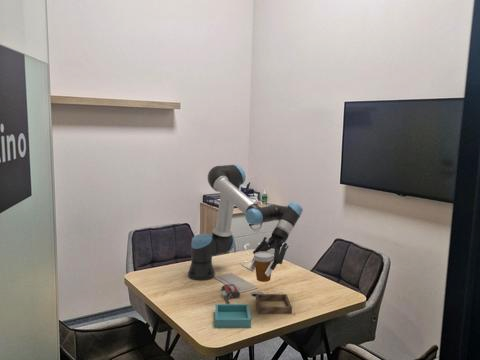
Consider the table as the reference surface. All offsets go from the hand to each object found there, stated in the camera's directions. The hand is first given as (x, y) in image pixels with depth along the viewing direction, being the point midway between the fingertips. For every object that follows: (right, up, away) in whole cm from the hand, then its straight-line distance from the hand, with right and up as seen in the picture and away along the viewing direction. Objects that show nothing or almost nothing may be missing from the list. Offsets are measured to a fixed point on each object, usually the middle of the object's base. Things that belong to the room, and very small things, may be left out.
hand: (258, 272), depth 187 cm
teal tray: (-12, -20, -3) cm, 24 cm away
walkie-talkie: (-13, -18, +22) cm, 31 cm away
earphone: (0, -12, +67) cm, 68 cm away
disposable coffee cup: (+2, -4, +3) cm, 6 cm away
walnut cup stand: (+7, -19, +11) cm, 23 cm away
